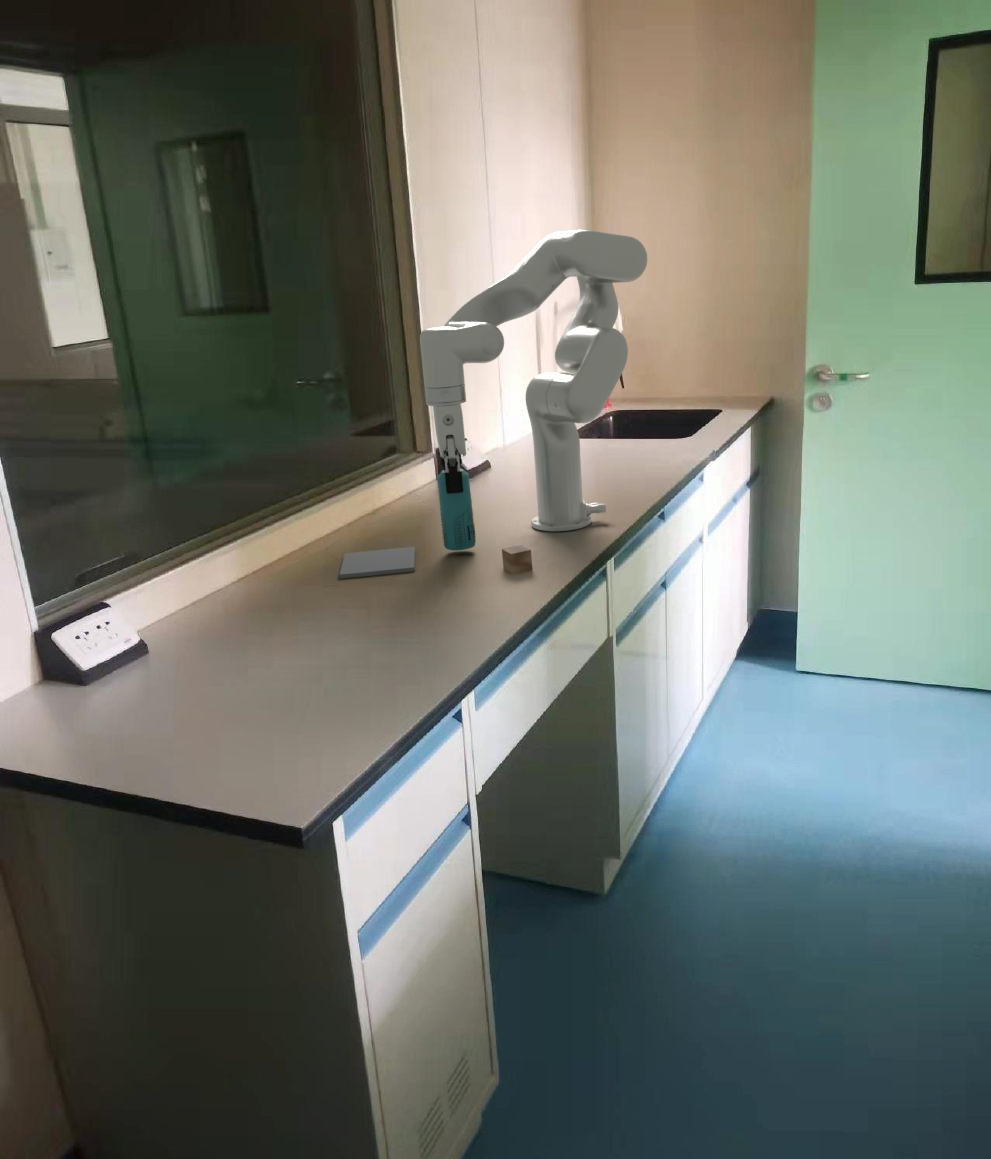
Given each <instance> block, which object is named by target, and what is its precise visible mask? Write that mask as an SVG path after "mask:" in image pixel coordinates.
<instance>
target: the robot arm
mask: <svg viewBox="0 0 991 1159" xmlns="http://www.w3.org/2000/svg"><path fill="white" fill-rule="evenodd" d="M647 264H648V253H647V251H646V247H645V246H644V244H643V243H642V242H641V241H640V240H639V239H637V238H635V237H633V236H628V235H622V234H616V233H615V234H614V233H608V232H602V231H601V232H600V231H595V230H589V229H588V230H587V229H577V230H566V231H565V230H564V231H556V232H553V233H550V234H548V235H546V236H544V238H543V239H542V240H540V241H539V243H537V244H536V246H535V247H533V249H532V250H530V252H529V253H528V254H527V255H526V256H524V258H523V259H522V260H521V261H520V262H519V263H518V264H517V265H516V266H515V267H514V268H513V269H512V270H511V271H510V272H509V273H508V274H506V276H505V277H504V278H502V279H501V280H499V281H497V282H495V283H493V284H492V285H491V286H489V287H487V288H486V289H485V290H483V291H482V292H480V293H478V294H476V296H474V297H472V298H471V299H470V300H468V301H467V302H465V303H464V304H463V305H462V306H461V307H460V308H459V309H458V310H457V311H456V312H454V314H453V315H452V316H451V317H450V318H449V319H448V321H446V322H445V324H444V325H443V326H436V327H429V328H425V329H423V330H422V331H421V332H420V334H419V346H420V354H421V364H422V373H423V384H424V394H425V402H426V403H425V404H426V406H429V407H432V410H433V418H434V427H435V435H436V441H437V446H438V450H439V453H440V458H441V457H442V458H444V460H445V466H443V470H446V473H445V482H446V492H447V494H452V493H462V492H463V481H462V471H460V469H461V464H460V462H459V454H460V455H461V456H462V457H464V458H465V457H466V456H467V449H466V438H465V436H466V435H465V426H464V425H465V424H464V416H463V409H462V404H464V403H466V402H467V396H466V395H467V393H466V385H465V374H464V373H465V372H464V364H487V363H490V362H493V361H495V360H496V359H497V358H499V356H500V355H501V354H502V353H503V350H504V347H505V337H504V335H503V332H502V331H501V330H500V328H499V327H498V326H500V325H502V324H504V323H507V322H510V321H513V320H516V319H519V318H522V317H525V316H527V315H529V314H532V313H533V312H535V311H536V310H538V309H539V308H540V307H541V305H543V303H544V302H545V301H546V300H547V299H548V298H549V297H550V296H551V295H552V294H553V293H554V292H555V291H556V290H557V288H558V287H560V286H561V285H562V284H563V283H564V281H565V280H566V279H569V278H571V277H573V278H574V277H576V278H577V283H578V287H579V301H578V304H577V306H576V308H575V311H574V313H573V314H572V316H571V318H570V320H569V322H568V324H567V325H566V328H565V329H564V331H563V333H562V335H561V337H560V338H559V341H558V342H557V345H556V348H555V351H554V358H555V363H556V365H557V367H559V368H560V369H561V370H562V371H564V372H560V371H559V372H558V371H547V372H543V373H540V374H538V375H536V376H534V377H533V378H532V379H531V380H530V381H529V383H528V385H527V387H526V391H525V404H526V410H527V413H528V418H529V421H530V426H531V431H532V442H533V454H534V455H533V456H534V457H533V458H534V469H535V471H534V472H535V485H536V500H537V515H536V516H534V517H533V518H532V519H531V520H530V521H531V527H532V528H533V529H536V530H538V531H544V532H568V531H575V530H579V529H583V528H586V527H587V526H589V525H590V524H591V523H592V517H591V516H592V514H605V513H607V508H606V503H598V502H591V503H587V502H585V500H584V496H583V483H582V481H583V480H582V479H583V478H582V465H581V464H582V461H581V459H582V458H581V443H580V442H581V441H580V436H579V432H578V429H577V425H576V424H587V423H590V422H592V421H594V420H595V419H596V418H598V416H599V415H600V414H601V413H602V411H603V410H604V408H605V406H606V404H607V402H608V400H609V398H610V397H611V395H612V393H613V392H614V389H615V387H616V386H617V384H618V382H619V380H620V379H621V376H622V373H623V372H624V369H625V367H626V365H627V361H628V353H629V349H628V348H629V347H628V342H627V340H626V337H625V336H624V334H623V333H622V332H620V331H619V330H618V329H616V328H614V325H615V323H616V321H617V319H618V316H619V303H618V298H617V295H616V291H615V287H614V284H615V283H631V282H634V281H636V280H637V279H639V278H640V277H641V276H642V275H643V274H644V272H645V270H646V267H647ZM613 283H614V284H613ZM456 452H457V455H455V453H456ZM446 454H448V455H449V456H446ZM448 460H449V461H448ZM457 470H458V472H457Z"/></svg>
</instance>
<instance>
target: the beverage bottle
mask: <svg viewBox="0 0 991 1159" xmlns="http://www.w3.org/2000/svg"><path fill="white" fill-rule="evenodd" d="M455 455H457V452H456V453H455ZM446 456H449V455H448V454H446ZM448 461H449V460H448ZM459 462H460V465H462V464H463V459H462V455H460V454H459ZM440 465H441V466H443V467H444V466H445V460H444V458H442V457H441V456H440ZM460 471H462V481H463V492H462V493H452V494H447V492H446V482H445V473H446V470H444V469H443V470H442V471H441V472H440V473H439V474H438V475H437V477H436V481H437V489H438V498H439V499H438V500H439V510H440V511H439V512H440V513H439V515H440V521H441V524H440V525H441V532H442V534H441V535H442V536H441V538H442V540H443V542H442V544H443V545H444V549H446V550H448V551H465V550H469V549H472V548H474V547H475V546H476V541H477V539H476V527H475V525H476V524H475V521H474V514H475V513H474V510H473V500H472V492H471V486H470V485H471V484H470V475H469V473H468V472H467V471H466V470H465V469H463V468H460ZM457 472H458V470H457Z"/></svg>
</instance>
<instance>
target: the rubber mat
mask: <svg viewBox="0 0 991 1159" xmlns="http://www.w3.org/2000/svg"><path fill="white" fill-rule="evenodd" d="M415 564H416V549H415V546H406V547H397V548H396V547H395V548H387V549H378V550H377V549H375V550H366V551H353V552H345V553H344V555H343V558H342V562H341V568H340V571H339V579H348V578H349V579H351V578H360V577H371V576H381V575H391V574H401V573H402V574H403V573H413V572H415V571H416V570H415V569H416V565H415Z"/></svg>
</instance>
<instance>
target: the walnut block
mask: <svg viewBox="0 0 991 1159" xmlns="http://www.w3.org/2000/svg"><path fill="white" fill-rule="evenodd" d="M501 555H502V556H501V557H502V568H503V570H504V571H506V572H508V573H509V574H511V575H517V574H521V573H526V572H531V571H533V560H532V549H531V548H528V547H526V546H524V545H523V544H518V545H512V546H509V547H505V548H501Z"/></svg>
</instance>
